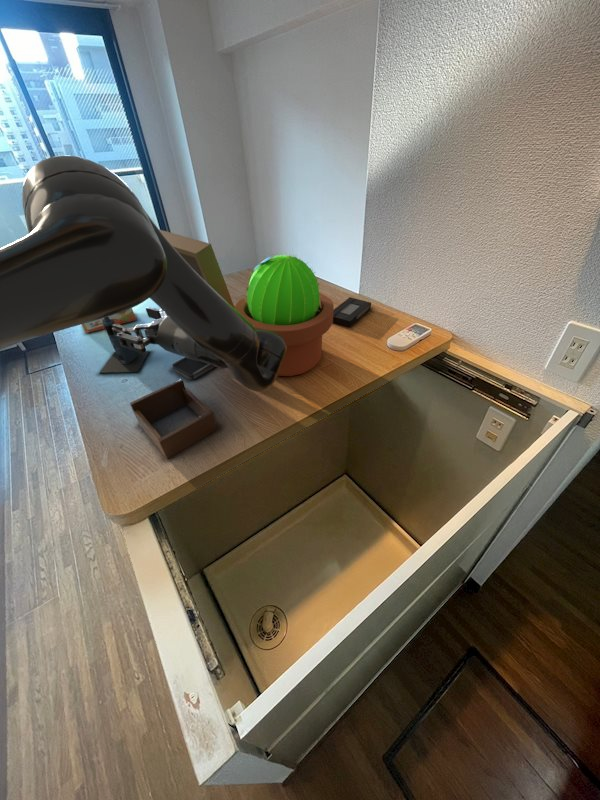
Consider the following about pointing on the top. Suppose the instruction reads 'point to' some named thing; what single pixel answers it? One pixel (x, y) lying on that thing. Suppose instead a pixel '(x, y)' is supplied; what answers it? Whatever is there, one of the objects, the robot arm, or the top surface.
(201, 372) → the phone
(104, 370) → the coaster
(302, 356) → the potted cactus
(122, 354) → the vaping device
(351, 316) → the vhs tape
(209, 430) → the wooden tray
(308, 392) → the top surface
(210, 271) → the photo frame
